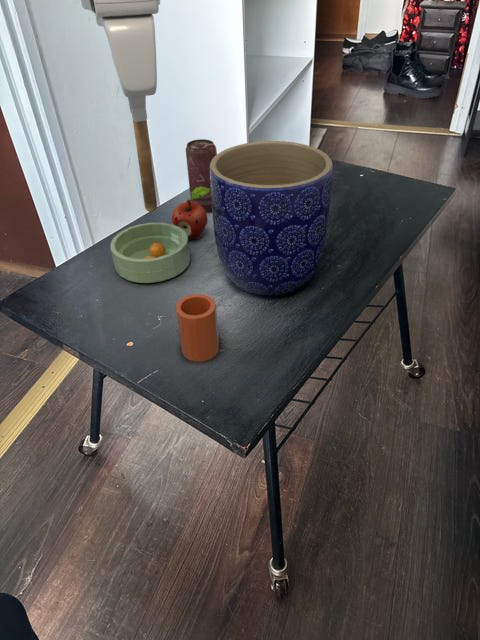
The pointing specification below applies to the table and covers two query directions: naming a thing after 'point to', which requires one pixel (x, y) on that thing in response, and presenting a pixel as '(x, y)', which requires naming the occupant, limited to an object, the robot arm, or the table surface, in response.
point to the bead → (157, 250)
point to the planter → (270, 213)
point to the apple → (191, 214)
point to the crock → (198, 327)
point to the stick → (145, 165)
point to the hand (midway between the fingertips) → (138, 116)
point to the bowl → (135, 247)
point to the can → (200, 168)
